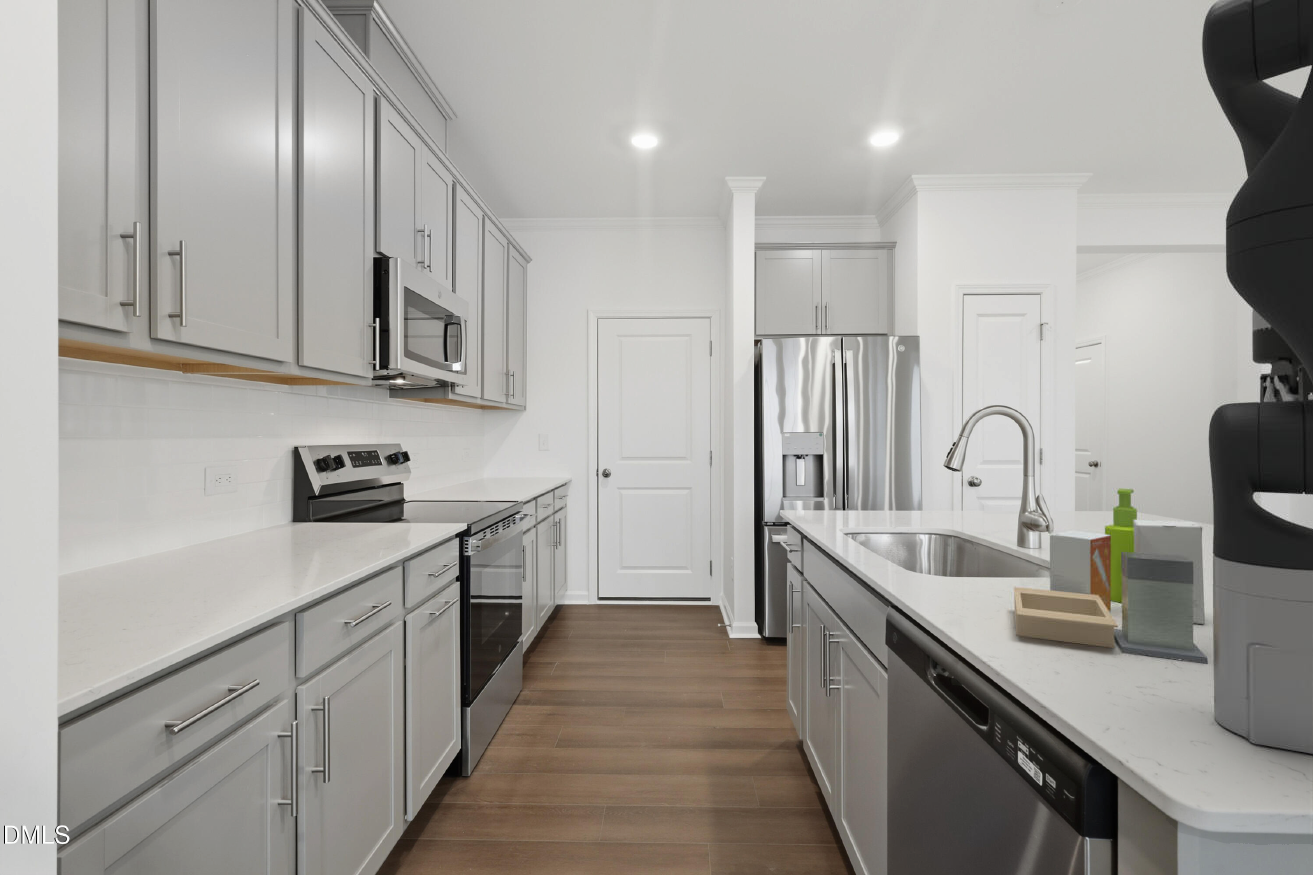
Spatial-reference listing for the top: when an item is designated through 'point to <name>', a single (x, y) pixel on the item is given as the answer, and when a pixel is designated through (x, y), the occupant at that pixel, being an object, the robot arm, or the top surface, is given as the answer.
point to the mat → (1158, 650)
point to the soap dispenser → (1121, 539)
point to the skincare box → (1175, 550)
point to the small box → (1081, 564)
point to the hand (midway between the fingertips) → (1292, 447)
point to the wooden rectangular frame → (1063, 617)
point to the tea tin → (1157, 600)
